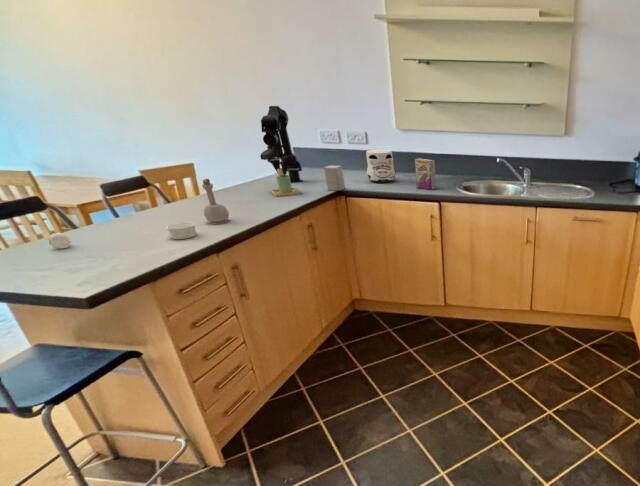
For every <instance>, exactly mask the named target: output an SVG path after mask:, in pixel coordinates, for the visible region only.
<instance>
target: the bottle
mask: <svg viewBox="0 0 640 486" xmlns="http://www.w3.org/2000/svg"><path fill="white" fill-rule="evenodd" d="M275 178H276V183H277V189H279V192H280V193H290V192H292V188H293V187H292V182H290V177H289V174H288V175H287V174H286V175H276V177H275Z"/></svg>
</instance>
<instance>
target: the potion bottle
mask: <svg viewBox="0 0 640 486" xmlns="http://www.w3.org/2000/svg"><path fill="white" fill-rule="evenodd" d="M201 187H202V189H203V190H204V191H205V193H206V195H207V199H208V202H209V204H207V205H205V206H204V209H203V216H204V217H205V219H206V220H207V222H208V223H209V224H211V225H220V224H225V223H227V222H228V221H229V218H230V217H229V215H230V213H229V211H228V209H227V207H225V206H224V205H223V204H221V203H217V201H216V199H215V198H216V197H215V196H214V192H213V188H214V184H213V183H211V181H210V178H204V179H203V180H202V183H201Z"/></svg>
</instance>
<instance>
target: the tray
mask: <svg viewBox="0 0 640 486" xmlns="http://www.w3.org/2000/svg"><path fill="white" fill-rule="evenodd" d="M270 192H271V193H272V195H274V196H275V197H276V198H278V197H288V196H295V195H302V193H301V191H300V190H299V189H297V188H296V187H294V186H293V187H292V192H290V193H280V192H279V188H276V189H275V188H274V189H270Z"/></svg>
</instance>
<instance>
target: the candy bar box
mask: <svg viewBox="0 0 640 486" xmlns="http://www.w3.org/2000/svg"><path fill="white" fill-rule="evenodd" d="M414 168H415V169H414V170H415V180H416V181H415V183H416V184H415V185H416V189H425V190H430V191H433V190H436V189H437V177H436V160H434V159H426V158H420V157H419V158H415V159H414Z"/></svg>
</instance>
